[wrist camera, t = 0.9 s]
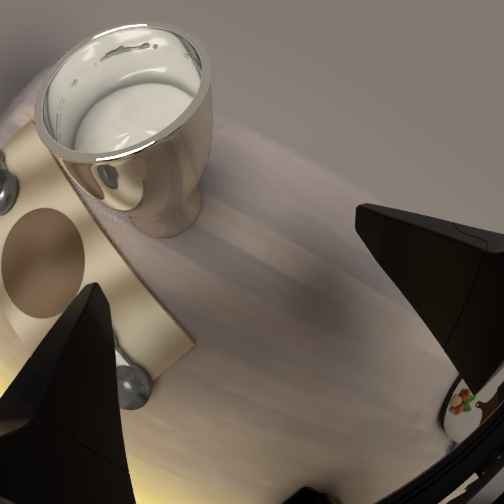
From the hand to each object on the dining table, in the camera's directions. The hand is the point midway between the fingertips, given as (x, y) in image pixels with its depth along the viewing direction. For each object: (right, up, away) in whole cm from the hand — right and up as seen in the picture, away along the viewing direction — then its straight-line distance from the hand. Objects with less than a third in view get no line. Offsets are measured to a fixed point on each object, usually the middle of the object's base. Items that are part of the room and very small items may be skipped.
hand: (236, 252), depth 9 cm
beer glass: (-6, +4, +13) cm, 15 cm away
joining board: (-17, -1, +11) cm, 20 cm away
